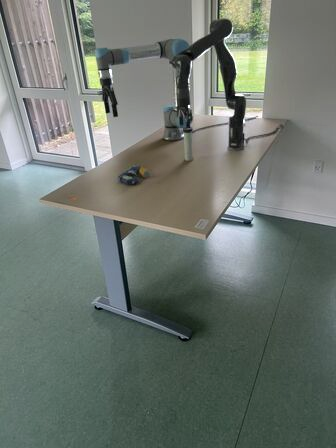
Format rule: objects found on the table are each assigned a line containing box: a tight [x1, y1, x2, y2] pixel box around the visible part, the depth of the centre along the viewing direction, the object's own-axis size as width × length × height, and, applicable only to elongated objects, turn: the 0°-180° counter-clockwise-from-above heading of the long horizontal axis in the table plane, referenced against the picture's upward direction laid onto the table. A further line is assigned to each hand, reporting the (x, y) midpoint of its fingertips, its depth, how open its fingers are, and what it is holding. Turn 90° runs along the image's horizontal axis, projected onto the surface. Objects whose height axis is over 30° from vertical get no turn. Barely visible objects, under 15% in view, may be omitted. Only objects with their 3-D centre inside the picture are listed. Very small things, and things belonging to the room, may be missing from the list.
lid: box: [182, 126, 194, 133], centre depth 199 cm, size 6×6×2 cm
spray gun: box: [116, 164, 150, 186], centre depth 188 cm, size 21×4×15 cm
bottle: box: [183, 132, 194, 162], centre depth 203 cm, size 5×5×19 cm
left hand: (111, 114), depth 206 cm, fingers open, 13 cm apart
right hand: (184, 126), depth 187 cm, fingers open, 8 cm apart
